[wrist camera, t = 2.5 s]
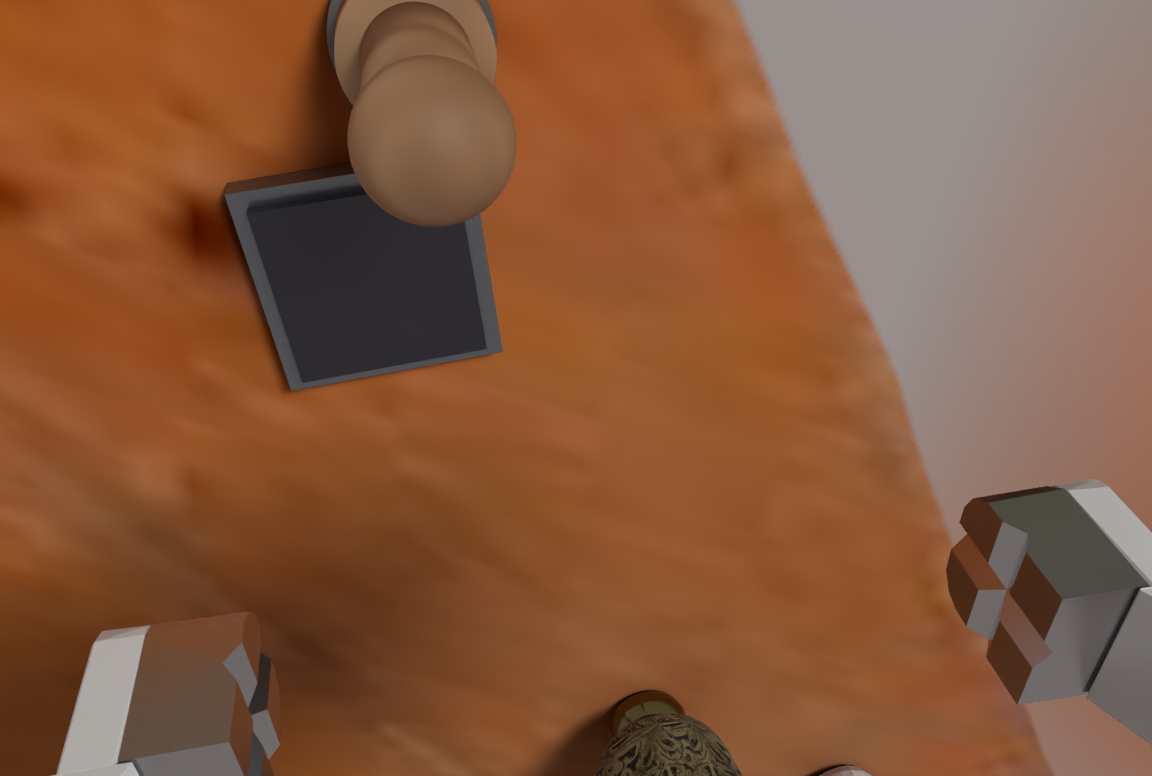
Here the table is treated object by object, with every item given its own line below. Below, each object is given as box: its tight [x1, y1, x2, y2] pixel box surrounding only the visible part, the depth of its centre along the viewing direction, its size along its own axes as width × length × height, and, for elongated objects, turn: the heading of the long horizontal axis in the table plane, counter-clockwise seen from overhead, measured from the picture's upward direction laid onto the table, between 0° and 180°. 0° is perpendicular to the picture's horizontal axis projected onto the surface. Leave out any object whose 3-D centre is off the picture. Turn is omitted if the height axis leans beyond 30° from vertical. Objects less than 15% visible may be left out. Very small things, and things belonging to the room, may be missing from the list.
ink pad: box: [224, 163, 503, 391], centre depth 29 cm, size 7×7×1 cm
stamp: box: [327, 0, 516, 227], centre depth 22 cm, size 4×4×10 cm
